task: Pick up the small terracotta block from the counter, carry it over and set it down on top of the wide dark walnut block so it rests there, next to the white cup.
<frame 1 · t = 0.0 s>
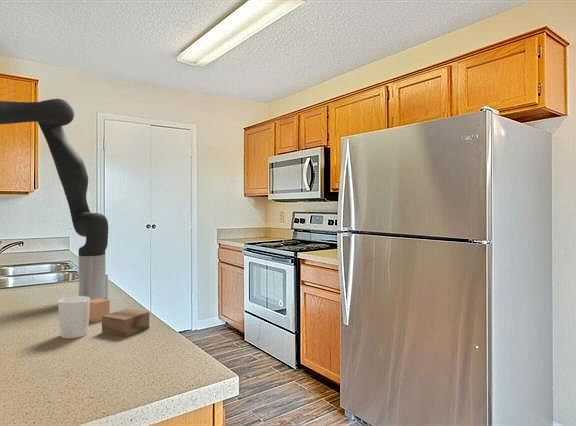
white cup: (74, 335, 110), on the countertop
terracotta block: (97, 319, 125), on the countertop
walnut block: (126, 331, 114), on the countertop
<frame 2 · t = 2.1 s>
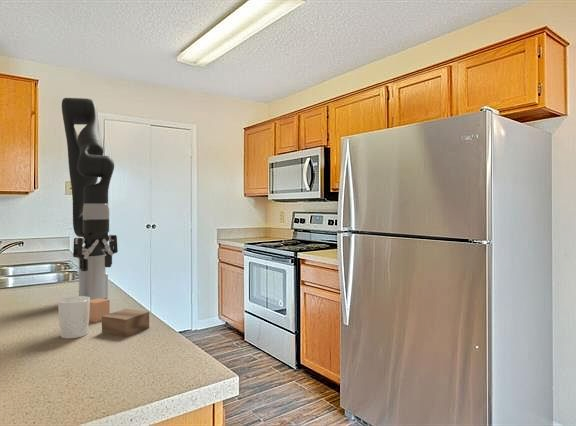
hand: (96, 269, 125), 16 cm above the countertop, fingers open, 8 cm apart
nothing on the countertop moved.
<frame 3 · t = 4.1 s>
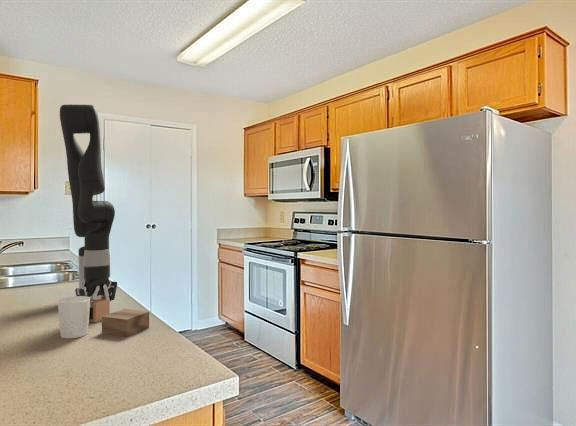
hand: (97, 316, 125), 1 cm above the countertop, fingers closed on terracotta block, 5 cm apart
terracotta block: (97, 319, 125), on the countertop, touching gripper
everything else where it was.
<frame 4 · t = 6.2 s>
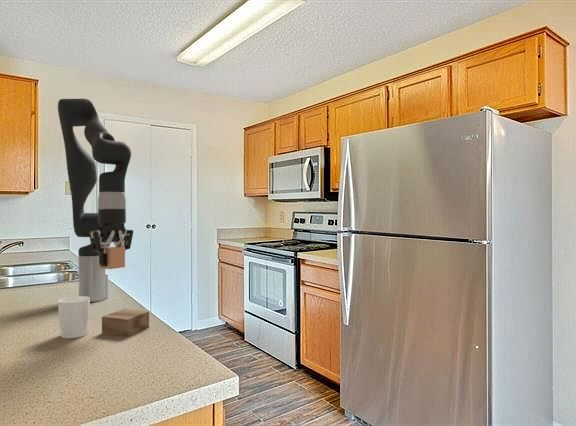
hand: (112, 265, 117), 19 cm above the countertop, fingers closed on terracotta block, 5 cm apart
terracotta block: (112, 267, 117), point 18 cm above the countertop, touching gripper
everything else where it was.
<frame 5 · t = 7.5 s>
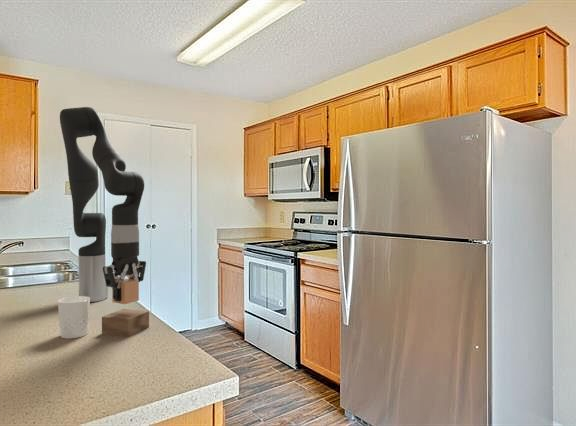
hand: (125, 298, 114), 9 cm above the countertop, fingers closed on terracotta block, 5 cm apart
terracotta block: (125, 301, 114), point 8 cm above the countertop, touching gripper
everything else where it was.
when the fingers open (7 cm above the countertop, at t = 8.3 s): terracotta block drops 1 cm, resting on walnut block.
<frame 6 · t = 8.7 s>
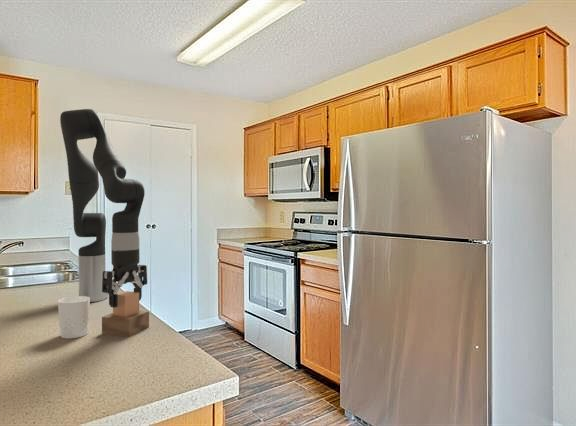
hand: (125, 303, 114), 8 cm above the countertop, fingers open, 8 cm apart
terracotta block: (126, 313, 114), point 5 cm above the countertop, touching walnut block
walnut block: (126, 331, 114), on the countertop, touching terracotta block
everything else where it was.
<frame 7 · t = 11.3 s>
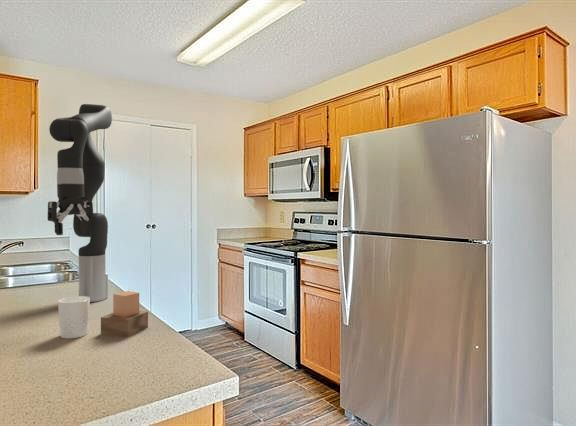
hand: (71, 233, 126), 27 cm above the countertop, fingers open, 8 cm apart
nothing on the countertop moved.
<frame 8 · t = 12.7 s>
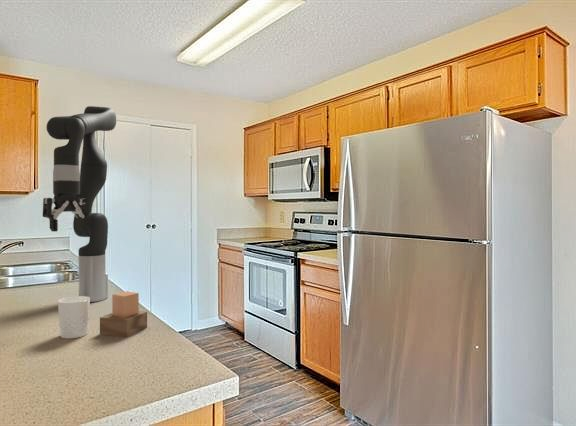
hand: (67, 230, 126), 28 cm above the countertop, fingers open, 8 cm apart
nothing on the countertop moved.
at the end: terracotta block 0.7 cm off-centre on the walnut block, point 5.0 cm above the walnut block's base; terracotta block tilted 0°; the gripper is holding nothing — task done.
